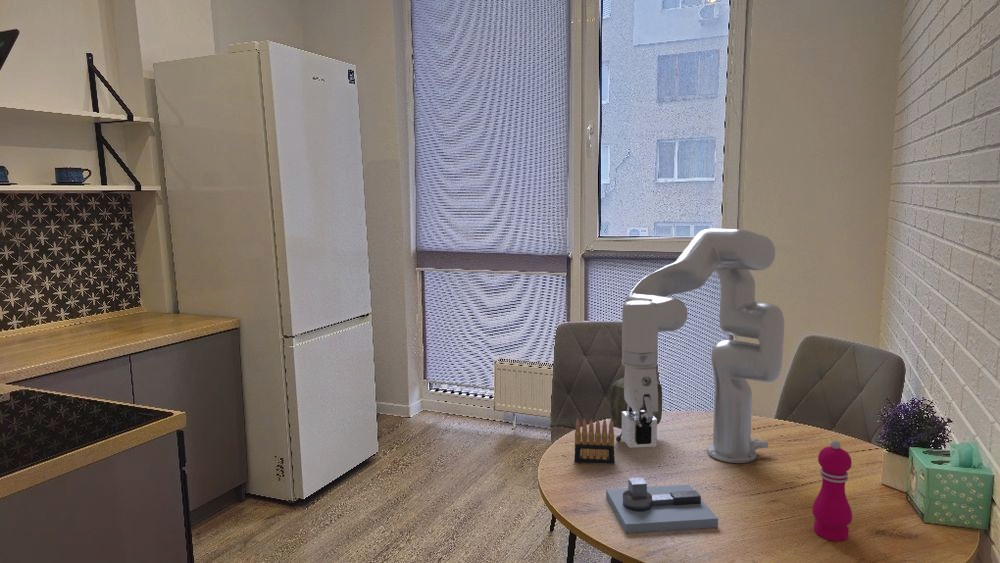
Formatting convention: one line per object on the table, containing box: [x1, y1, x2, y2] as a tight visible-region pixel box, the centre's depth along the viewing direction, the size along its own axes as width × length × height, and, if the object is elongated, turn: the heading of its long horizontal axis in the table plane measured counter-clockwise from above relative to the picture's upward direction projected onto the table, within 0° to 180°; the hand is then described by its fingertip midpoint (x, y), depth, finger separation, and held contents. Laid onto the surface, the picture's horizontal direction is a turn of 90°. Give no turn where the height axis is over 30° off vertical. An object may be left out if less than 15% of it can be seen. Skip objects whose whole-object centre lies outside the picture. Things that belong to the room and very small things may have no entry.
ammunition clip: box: [573, 417, 616, 465], centre depth 164 cm, size 11×2×12 cm, turn 81°
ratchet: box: [623, 477, 702, 512], centre depth 137 cm, size 17×6×6 cm, turn 95°
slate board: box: [605, 484, 719, 534], centre depth 137 cm, size 20×16×2 cm
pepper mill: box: [811, 439, 853, 542], centre depth 126 cm, size 7×7×20 cm
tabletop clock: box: [609, 376, 663, 443], centre depth 178 cm, size 14×9×25 cm, turn 135°
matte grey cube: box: [621, 410, 658, 449], centre depth 134 cm, size 6×6×6 cm
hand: (638, 436), depth 135 cm, fingers closed on matte grey cube, 6 cm apart
